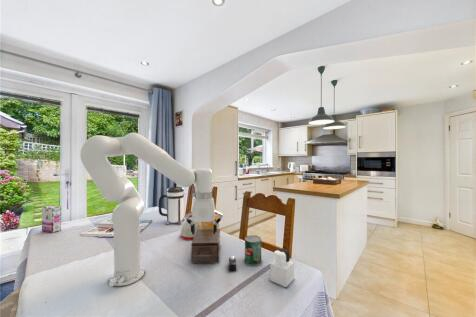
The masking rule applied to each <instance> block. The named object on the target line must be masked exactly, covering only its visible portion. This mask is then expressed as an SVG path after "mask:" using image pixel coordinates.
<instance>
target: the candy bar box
mask: <svg viewBox="0 0 476 317" xmlns="http://www.w3.org/2000/svg"><path fill="white" fill-rule="evenodd" d="M61 218H62V206H60V205H45V206H42V207H41V231H42V232H46V233H52V234H53V233H56V232H60V231H62V229H61V228H62V219H61Z"/></svg>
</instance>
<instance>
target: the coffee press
mask: <svg viewBox="0 0 476 317" xmlns="http://www.w3.org/2000/svg"><path fill="white" fill-rule="evenodd" d="M185 195H186V191H185V189H184V187H182V186H180V185H178V184H177V183H175V182H174V183H173V186H169V187H167V189H166V194H163V195H160V197H159V198H158V213H159V215H160V216H162V217H166V221H165V225H169V224H170V223H172V224H175V223H177V225H182V221H184V222H185V217H184V197H185ZM164 198H166V213H164V212H163V211H162V200H163V199H164Z"/></svg>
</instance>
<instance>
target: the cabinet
mask: <svg viewBox="0 0 476 317" xmlns="http://www.w3.org/2000/svg"><path fill="white" fill-rule="evenodd" d="M216 244H217V262H216V263H219V260H220V250H221V229H220V228H219V229H217V232H215V234H213V229H198V230H197V232H196V234H195V236H194V238H193V240H191V248H190V249H191V252H190V253H191V255H190V256H191V257H190V258H191V263H192V246H195V245H216Z"/></svg>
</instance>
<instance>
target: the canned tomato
mask: <svg viewBox="0 0 476 317" xmlns="http://www.w3.org/2000/svg"><path fill="white" fill-rule="evenodd" d="M244 262H245V264H246V265H248V266H253V267H255V266H259V265H261V263H262V238H261V236H258V235H253V234H251V235H247V236H245V237H244Z"/></svg>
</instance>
